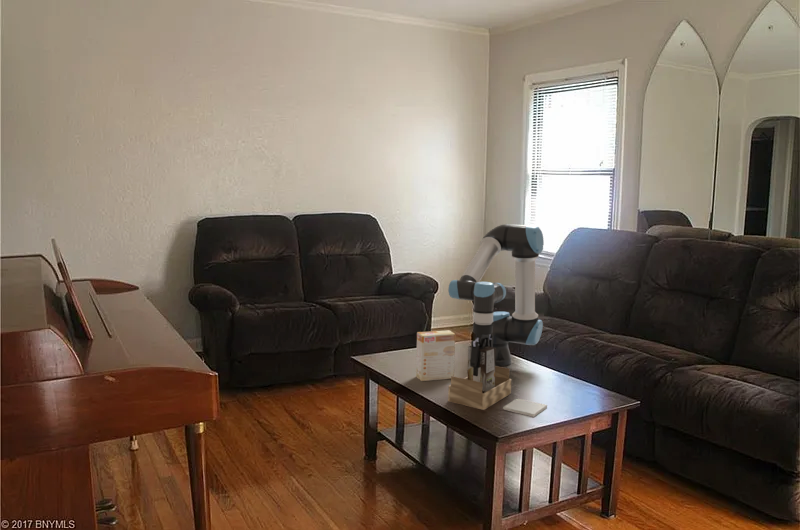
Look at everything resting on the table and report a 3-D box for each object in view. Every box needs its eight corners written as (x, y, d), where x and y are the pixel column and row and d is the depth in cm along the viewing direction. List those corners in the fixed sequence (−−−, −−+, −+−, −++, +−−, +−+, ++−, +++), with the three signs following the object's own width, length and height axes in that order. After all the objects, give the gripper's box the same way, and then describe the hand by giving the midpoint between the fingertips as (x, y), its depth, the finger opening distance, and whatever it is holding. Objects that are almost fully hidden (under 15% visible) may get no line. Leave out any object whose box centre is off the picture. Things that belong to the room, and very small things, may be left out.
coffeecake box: (448, 374, 280) (449, 329, 277) (454, 378, 273) (456, 333, 270) (415, 376, 275) (416, 331, 273) (420, 381, 268) (422, 335, 266)
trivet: (517, 400, 248) (517, 398, 247) (546, 407, 241) (547, 404, 241) (503, 409, 238) (503, 406, 238) (534, 416, 231) (534, 414, 231)
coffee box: (495, 388, 249) (496, 347, 247) (485, 392, 245) (487, 350, 242) (476, 382, 256) (477, 343, 253) (466, 386, 251) (467, 346, 249)
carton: (476, 386, 264) (477, 362, 263) (510, 393, 256) (511, 369, 254) (448, 401, 245) (448, 375, 244) (483, 410, 237) (484, 383, 235)
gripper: (486, 316, 257) (484, 372, 260) (461, 326, 241) (459, 385, 244) (503, 319, 252) (501, 376, 256) (479, 329, 236) (477, 389, 240)
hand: (481, 380), depth 250 cm, fingers closed on coffee box, 7 cm apart
